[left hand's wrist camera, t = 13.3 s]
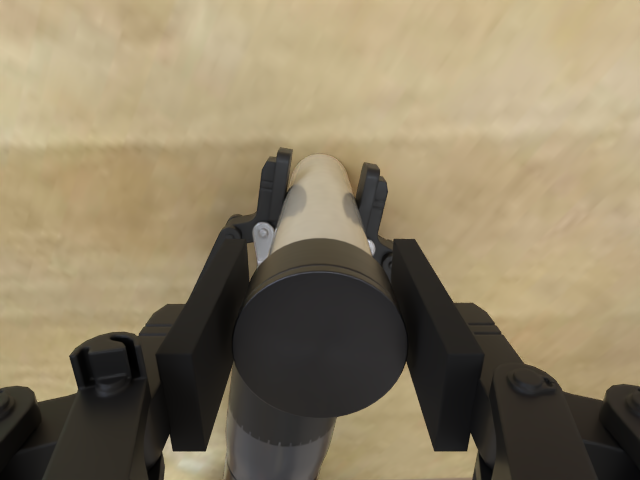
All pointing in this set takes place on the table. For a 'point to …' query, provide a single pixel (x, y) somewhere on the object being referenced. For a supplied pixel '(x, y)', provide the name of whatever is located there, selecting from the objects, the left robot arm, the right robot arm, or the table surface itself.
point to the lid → (320, 330)
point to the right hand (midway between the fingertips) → (328, 159)
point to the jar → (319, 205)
